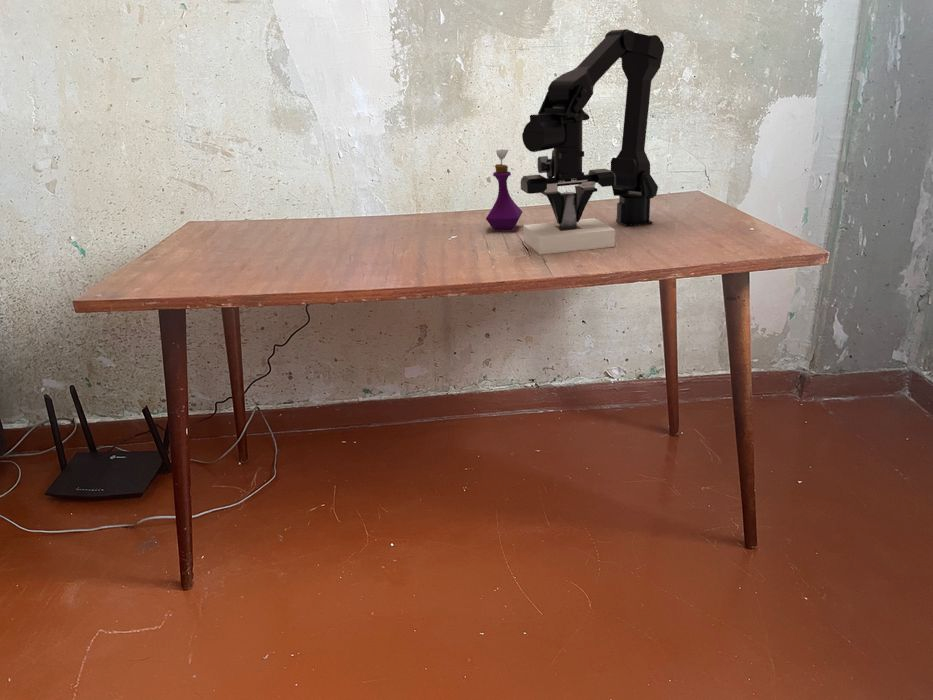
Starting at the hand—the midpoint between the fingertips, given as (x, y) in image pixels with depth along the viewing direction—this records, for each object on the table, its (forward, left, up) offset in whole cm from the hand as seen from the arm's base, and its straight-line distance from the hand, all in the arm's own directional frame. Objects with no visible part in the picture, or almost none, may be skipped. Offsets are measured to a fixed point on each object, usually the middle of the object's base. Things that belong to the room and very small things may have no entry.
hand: (568, 222), depth 148 cm
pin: (0, 0, -3) cm, 3 cm away
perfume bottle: (+9, -19, -5) cm, 22 cm away
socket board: (0, 0, -4) cm, 4 cm away
